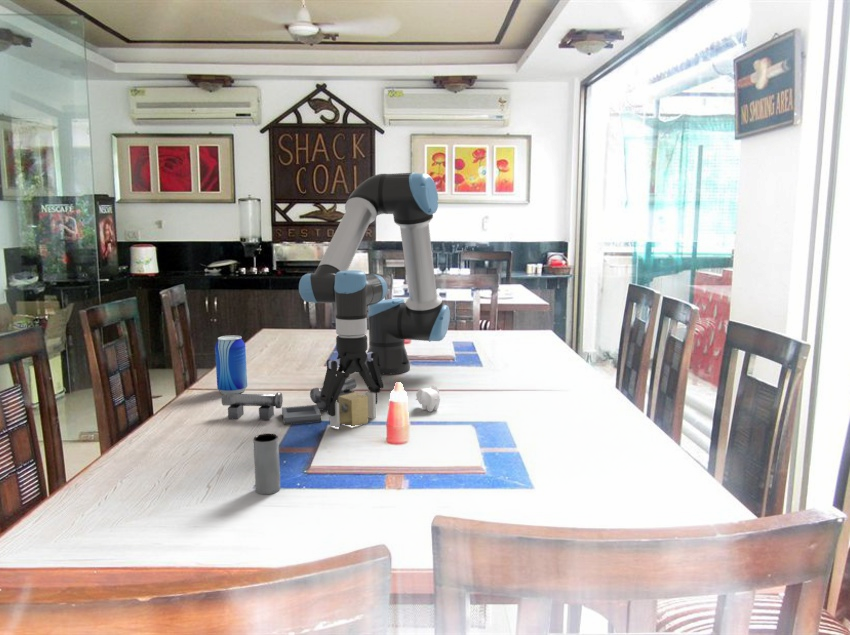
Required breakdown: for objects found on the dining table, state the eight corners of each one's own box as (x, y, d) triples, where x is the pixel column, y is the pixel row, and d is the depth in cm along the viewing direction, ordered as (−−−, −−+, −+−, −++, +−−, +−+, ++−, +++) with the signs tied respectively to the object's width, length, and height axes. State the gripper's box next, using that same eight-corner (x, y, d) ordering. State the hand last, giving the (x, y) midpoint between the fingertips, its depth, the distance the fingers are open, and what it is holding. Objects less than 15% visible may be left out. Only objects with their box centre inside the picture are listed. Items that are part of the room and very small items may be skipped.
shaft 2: (322, 414, 169) (321, 389, 168) (309, 411, 172) (309, 387, 171) (359, 400, 181) (358, 377, 180) (346, 397, 184) (346, 375, 183)
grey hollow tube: (257, 485, 125) (255, 433, 124) (281, 484, 126) (279, 432, 124) (253, 495, 121) (251, 442, 119) (278, 494, 121) (276, 441, 120)
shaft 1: (283, 414, 168) (282, 390, 167) (278, 420, 164) (277, 395, 163) (227, 413, 170) (226, 389, 169) (221, 419, 165) (219, 394, 164)
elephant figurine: (427, 403, 178) (426, 382, 177) (448, 409, 172) (448, 387, 171) (408, 408, 173) (408, 387, 172) (430, 415, 168) (430, 393, 167)
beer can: (239, 396, 186) (236, 340, 183) (212, 394, 188) (208, 339, 185) (252, 388, 194) (250, 335, 191) (226, 386, 196) (223, 334, 193)
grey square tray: (317, 411, 171) (317, 404, 171) (321, 421, 163) (321, 414, 163) (282, 414, 169) (281, 407, 169) (284, 425, 160) (284, 418, 160)
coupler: (355, 418, 165) (355, 392, 164) (368, 423, 162) (368, 395, 161) (338, 424, 161) (337, 396, 160) (351, 428, 158) (350, 400, 157)
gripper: (377, 326, 169) (378, 409, 172) (302, 339, 152) (305, 430, 156) (397, 330, 164) (398, 415, 167) (322, 344, 147) (324, 437, 151)
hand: (353, 422), depth 162 cm, fingers open, 11 cm apart
